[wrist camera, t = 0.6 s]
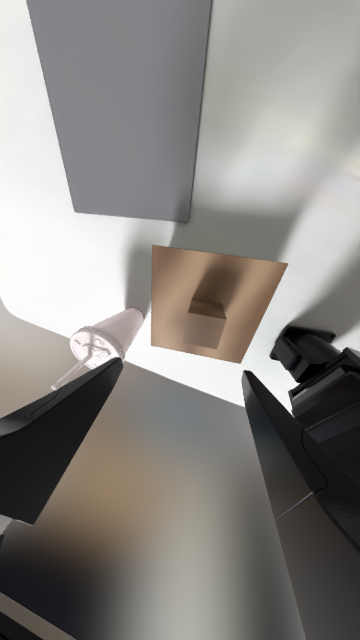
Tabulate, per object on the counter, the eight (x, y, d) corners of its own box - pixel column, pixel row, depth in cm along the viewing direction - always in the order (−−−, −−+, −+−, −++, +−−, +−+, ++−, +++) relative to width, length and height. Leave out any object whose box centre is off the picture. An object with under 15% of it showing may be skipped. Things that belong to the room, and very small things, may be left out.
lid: (283, 262, 13) (322, 268, 8) (239, 359, 19) (248, 390, 15) (154, 245, 14) (133, 242, 10) (152, 342, 20) (139, 366, 16)
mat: (217, -54, 9) (217, -67, 8) (188, 222, 16) (188, 221, 16) (23, -30, 10) (17, -40, 10) (77, 212, 17) (74, 211, 17)
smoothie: (111, 305, 23) (6, 364, 11) (142, 296, 21) (59, 356, 9) (127, 334, 26) (57, 409, 14) (156, 329, 24) (106, 410, 12)
